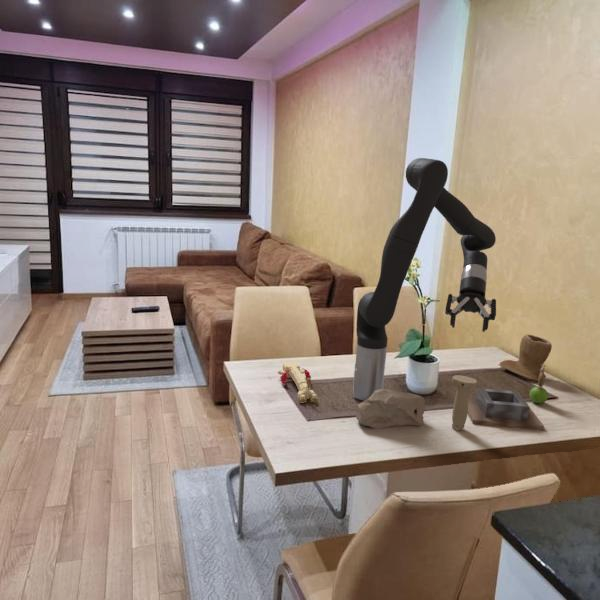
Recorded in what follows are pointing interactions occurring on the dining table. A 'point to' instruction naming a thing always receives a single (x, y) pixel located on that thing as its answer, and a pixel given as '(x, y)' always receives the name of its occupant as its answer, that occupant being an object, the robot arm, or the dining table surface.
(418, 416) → the decorative stone
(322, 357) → the dining table surface
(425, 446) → the dining table surface
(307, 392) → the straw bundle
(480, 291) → the robot arm
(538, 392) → the green ball on stick
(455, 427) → the handle
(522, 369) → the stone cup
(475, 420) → the socket block
